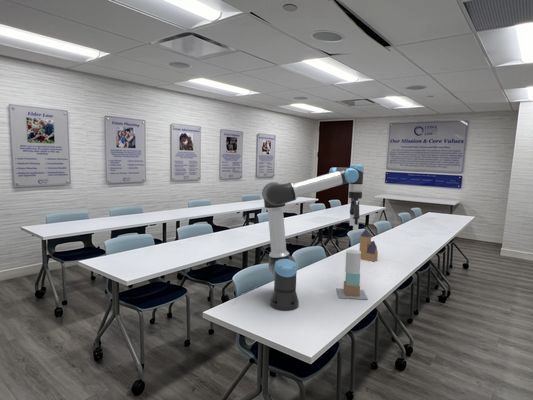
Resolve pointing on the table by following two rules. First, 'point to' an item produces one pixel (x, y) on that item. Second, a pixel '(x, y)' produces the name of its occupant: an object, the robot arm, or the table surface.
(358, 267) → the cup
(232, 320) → the table surface
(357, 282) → the teal cube
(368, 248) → the toy building blocks
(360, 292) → the tower base
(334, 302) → the table surface
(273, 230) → the robot arm
